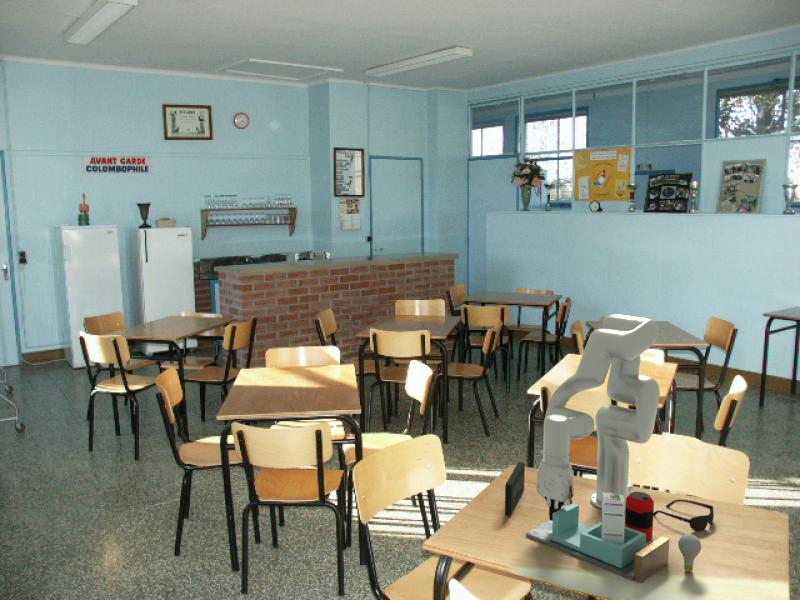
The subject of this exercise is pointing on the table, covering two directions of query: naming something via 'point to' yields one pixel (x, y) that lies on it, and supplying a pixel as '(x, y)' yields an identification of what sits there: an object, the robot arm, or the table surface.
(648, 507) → the soda can
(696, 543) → the light bulb
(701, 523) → the sunglasses
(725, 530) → the table surface
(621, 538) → the syrup box
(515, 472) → the nameplate
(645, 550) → the rail
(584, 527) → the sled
